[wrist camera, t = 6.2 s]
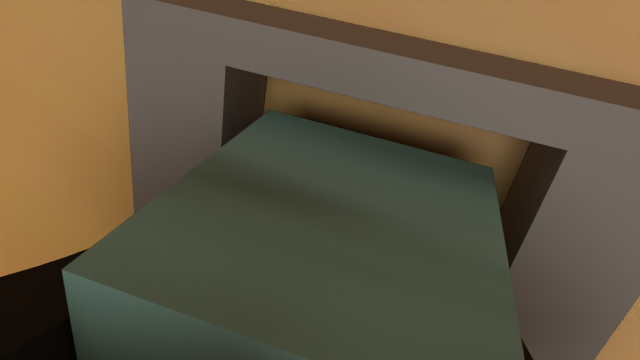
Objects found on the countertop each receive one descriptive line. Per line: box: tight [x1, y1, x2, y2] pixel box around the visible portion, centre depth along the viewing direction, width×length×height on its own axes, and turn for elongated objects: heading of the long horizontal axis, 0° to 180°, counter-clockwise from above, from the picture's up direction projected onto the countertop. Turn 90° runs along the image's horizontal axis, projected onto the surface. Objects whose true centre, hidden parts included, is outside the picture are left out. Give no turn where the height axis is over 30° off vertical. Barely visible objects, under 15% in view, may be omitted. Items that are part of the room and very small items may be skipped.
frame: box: [122, 0, 640, 360], centre depth 13 cm, size 16×12×3 cm
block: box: [62, 110, 525, 360], centre depth 8 cm, size 5×5×6 cm
